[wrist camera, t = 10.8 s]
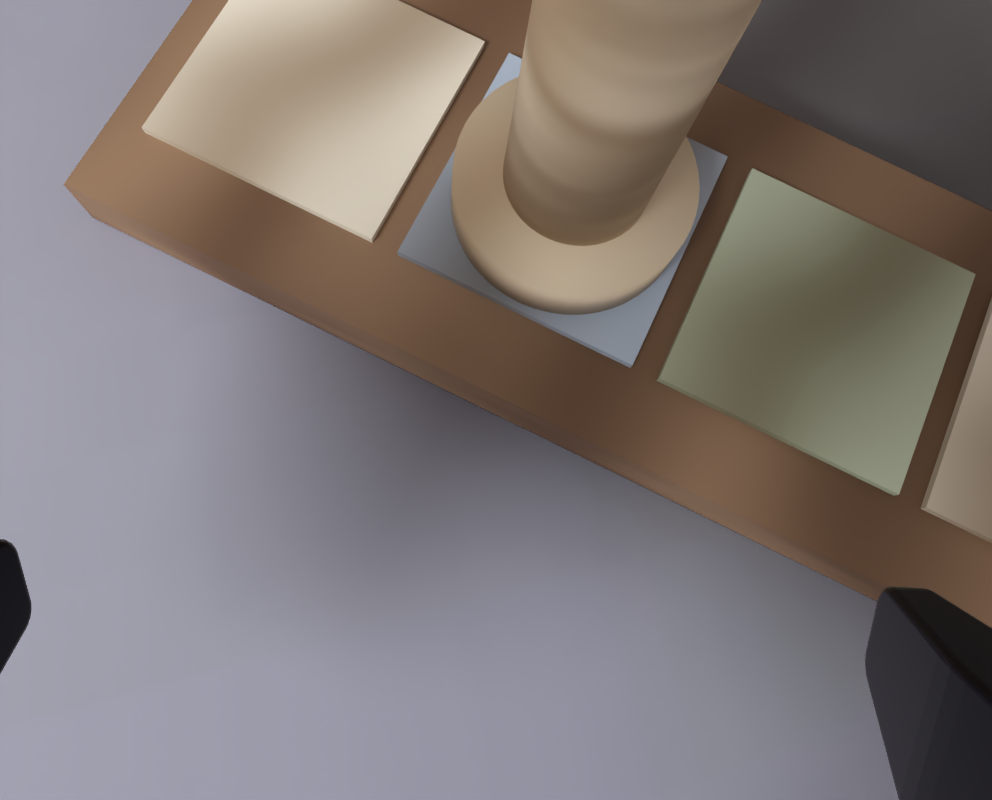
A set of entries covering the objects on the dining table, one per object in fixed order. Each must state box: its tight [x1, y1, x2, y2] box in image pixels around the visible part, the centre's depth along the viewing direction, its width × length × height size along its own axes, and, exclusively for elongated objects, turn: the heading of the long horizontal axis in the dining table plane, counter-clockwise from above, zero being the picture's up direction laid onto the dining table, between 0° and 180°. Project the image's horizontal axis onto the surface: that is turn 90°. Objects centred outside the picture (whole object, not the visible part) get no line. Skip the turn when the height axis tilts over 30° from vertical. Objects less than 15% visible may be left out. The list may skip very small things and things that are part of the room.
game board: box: [64, 0, 992, 628], centre depth 18 cm, size 25×9×2 cm, turn 64°
